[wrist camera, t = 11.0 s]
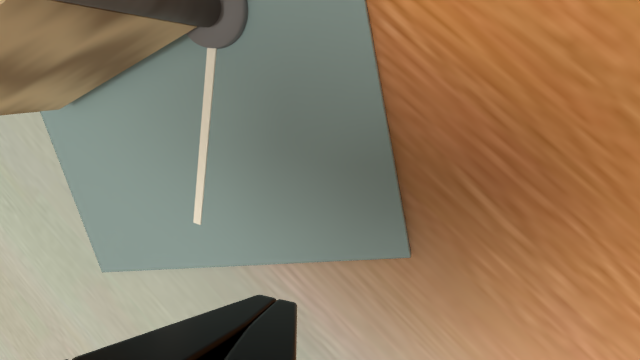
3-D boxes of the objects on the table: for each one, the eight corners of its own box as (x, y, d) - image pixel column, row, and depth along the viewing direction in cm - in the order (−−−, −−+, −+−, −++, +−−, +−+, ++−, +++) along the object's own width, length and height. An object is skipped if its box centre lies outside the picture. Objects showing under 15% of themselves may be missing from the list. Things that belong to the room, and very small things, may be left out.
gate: (211, -23, 16) (20, -99, 9) (226, 16, 16) (54, -27, 9) (47, 85, 21) (-160, 92, 14) (61, 114, 22) (-135, 136, 14)
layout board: (338, -154, 14) (331, -169, 13) (411, 253, 18) (409, 263, 17) (8, 11, 22) (-11, 8, 21) (106, 269, 26) (94, 276, 25)
